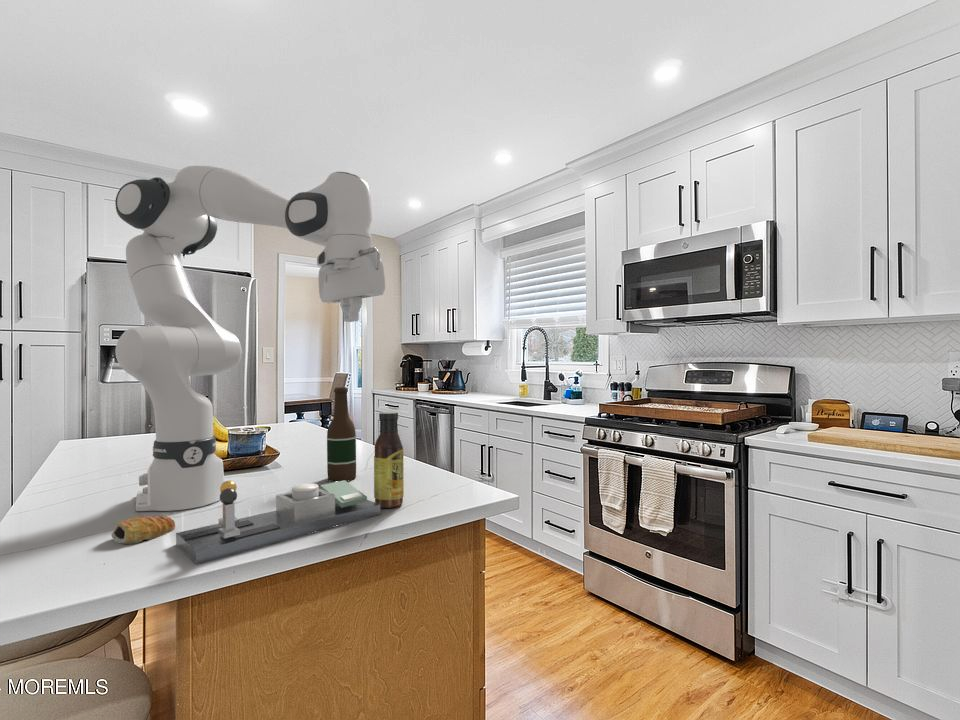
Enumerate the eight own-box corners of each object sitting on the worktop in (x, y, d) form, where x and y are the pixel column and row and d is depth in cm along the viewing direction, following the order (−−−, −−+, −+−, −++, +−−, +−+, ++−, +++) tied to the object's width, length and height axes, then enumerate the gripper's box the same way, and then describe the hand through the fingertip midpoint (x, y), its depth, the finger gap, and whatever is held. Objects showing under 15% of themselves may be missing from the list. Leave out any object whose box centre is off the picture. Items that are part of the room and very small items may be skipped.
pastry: (163, 525, 97) (163, 505, 97) (183, 531, 93) (183, 511, 93) (107, 541, 88) (107, 519, 88) (127, 549, 85) (126, 526, 85)
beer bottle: (321, 481, 129) (319, 388, 128) (334, 474, 136) (333, 386, 136) (349, 482, 127) (348, 388, 127) (362, 475, 135) (360, 386, 135)
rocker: (319, 489, 103) (320, 483, 103) (344, 484, 107) (344, 478, 107) (341, 507, 97) (342, 501, 96) (366, 501, 101) (367, 495, 100)
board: (176, 544, 86) (175, 512, 86) (350, 502, 109) (350, 477, 109) (196, 564, 78) (195, 528, 78) (380, 514, 101) (380, 487, 101)
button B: (288, 509, 96) (287, 487, 96) (311, 504, 99) (311, 482, 99) (299, 515, 93) (298, 491, 93) (323, 509, 96) (322, 486, 96)
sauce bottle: (397, 510, 104) (396, 414, 104) (369, 508, 105) (368, 414, 105) (408, 501, 110) (407, 411, 110) (381, 499, 111) (380, 410, 111)
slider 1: (217, 523, 88) (217, 480, 88) (233, 520, 90) (232, 478, 90) (224, 527, 86) (223, 483, 86) (239, 524, 88) (239, 481, 88)
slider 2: (217, 533, 83) (216, 488, 83) (233, 529, 85) (233, 485, 85) (223, 538, 81) (223, 491, 81) (240, 534, 83) (239, 488, 83)
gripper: (392, 247, 97) (393, 319, 97) (339, 262, 112) (340, 324, 112) (364, 242, 93) (365, 317, 93) (312, 259, 107) (313, 323, 107)
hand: (351, 321), depth 102 cm, fingers closed
